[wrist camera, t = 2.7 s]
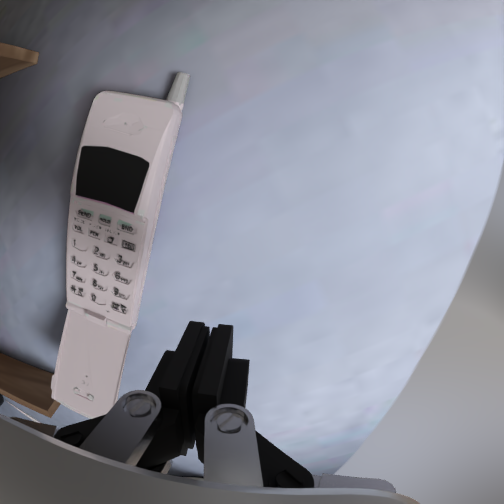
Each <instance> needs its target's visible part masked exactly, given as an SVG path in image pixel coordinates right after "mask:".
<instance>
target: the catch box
mask: <svg viewBox="0 0 504 504" xmlns="http://www.w3.org/2000/svg"><path fill="white" fill-rule="evenodd" d="M38 55H39V52H35V51H32V50H28V49H24V48H20V47H17V46H13V45H9V44H4V43H0V78H2V77H4V76H7V75H9V74H12V73H14V72H17V71H19V70H22V69H24V68H27V67H29V66H32V65H35V64H37V61H38ZM53 375H54V374H53V373H50V372H47V371H44V370H41V369H39V368H36V367H33V366H31V365H28V364H26V363H23V362H21V361H18V360H16V359H14V358H11V357H9V356H7V355H4V354H2V353H0V394H2V395H4V396H6V397H8V398H10V399H12V400H14V401H15V402H17V403H19V404H21V405H24V406H26V407H28V408H30V409H32V410H34V411H36V412H38V413H41V414H43V415H45V416H48V417H50V418H51V417H52V415H53V414H54V413H55V411H56V410H57V408H58V407H59V405H60V404H61V403H59V402H57V401H56V400H54V399H53V398H51V396H52V389H51V381H52V376H53Z"/></svg>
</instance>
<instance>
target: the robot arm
mask: <svg viewBox="0 0 504 504" xmlns="http://www.w3.org/2000/svg"><path fill="white" fill-rule="evenodd" d="M232 348H233V325H223V324H219V325H218V328H216V327H213V329H212V332H211V334H210V329H209V327H207V326H205V324H204V322H195V321H190V322H189V324H188V326H187V328H186V330H185V332H184V334H183V336H182V338H181V340H180V342H179V345H178V347H177V349H176V351H169V350H167V351H165V353H164V355H163V356H162V358H161V360H160V362H159V364H158V366H157V368H156V370H155V372H154V374H153V376H152V378H151V380H150V382H149V384H148V386H147V388H146V390H145V391H144V390H135V391H131V392H128V393H126V394H124V395H123V396H122V397H121V398H120V399H119V400H118V401H117V402H116V403H115V405H114V406H113V407H112V408H111V409H110V411H109V412H108V413H107V414H105V415H102V416H99V417H96V418H93V419H89V420H86V421H83V422H79V423H76V424H72V425H69V426H66V427H63V428H61V429H60V430H59V429H58V428H57V426H53V425H48V424H43V423H38V422H34V421H29V420H25V419H21V418H17V417H10V418H9V417H6V416H4V415H1V414H0V504H420V503H419V502H417V501H416V500H414V499H412V498H410V497H407V496H404V495H401V494H398V493H396V490H395V488H394V486H393V485H392V484H391V483H389V482H388V481H386V480H381V479H372V478H359V477H349V476H340V475H332V474H324V473H323V474H322V476H319V475H312V474H311V473H310V472H309V471H308V470H307V469H306V468H304V467H303V466H301V465H300V464H299V463H297V462H296V461H294V460H293V459H292V458H290V457H289V456H288V455H286V454H285V453H284V452H282V451H281V450H280V449H278V448H277V447H276V446H274V445H273V444H272V443H271V442H269V441H268V440H267V439H266V438H264V437H263V436H262V435H261V434H259V433H258V432H257V431H256V430H255V425H254V419H253V416H252V414H251V413H250V412H249V411H248V410H247V409H245V405H246V396H247V386H248V374H249V360H246V359H235V358H232ZM195 440H196V447H197V450H198V459H199V460H200V461H201V462H202V463H203V464H204V481H201V480H195V479H189V478H183V477H178V476H173V475H168V474H167V473H168V471H169V469H170V467H171V465H172V462H173V461H172V459H173V458H175V457H178V456H180V455H184V456H186V454H187V450H188V448H190V449H193V447H194V444H195Z"/></svg>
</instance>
